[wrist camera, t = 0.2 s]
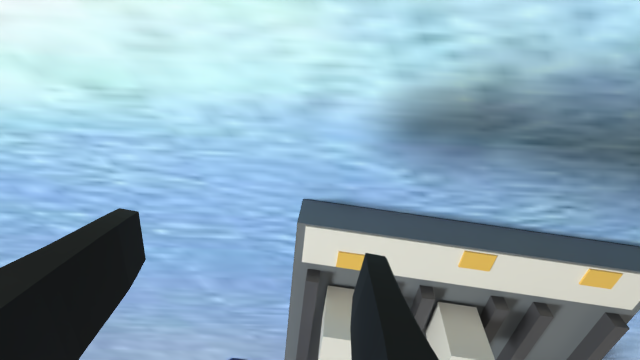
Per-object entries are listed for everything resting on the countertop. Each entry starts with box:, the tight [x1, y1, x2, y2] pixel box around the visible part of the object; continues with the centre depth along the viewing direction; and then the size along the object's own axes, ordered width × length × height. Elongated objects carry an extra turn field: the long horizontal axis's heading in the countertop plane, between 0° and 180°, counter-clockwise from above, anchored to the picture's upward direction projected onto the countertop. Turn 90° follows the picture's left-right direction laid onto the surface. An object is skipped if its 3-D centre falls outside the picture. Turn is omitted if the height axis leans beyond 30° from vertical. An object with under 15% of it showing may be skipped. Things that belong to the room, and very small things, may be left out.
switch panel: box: [285, 199, 640, 360], centre depth 24 cm, size 15×21×3 cm
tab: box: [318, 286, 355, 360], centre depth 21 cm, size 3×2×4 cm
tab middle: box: [425, 302, 495, 360], centre depth 21 cm, size 3×2×4 cm
